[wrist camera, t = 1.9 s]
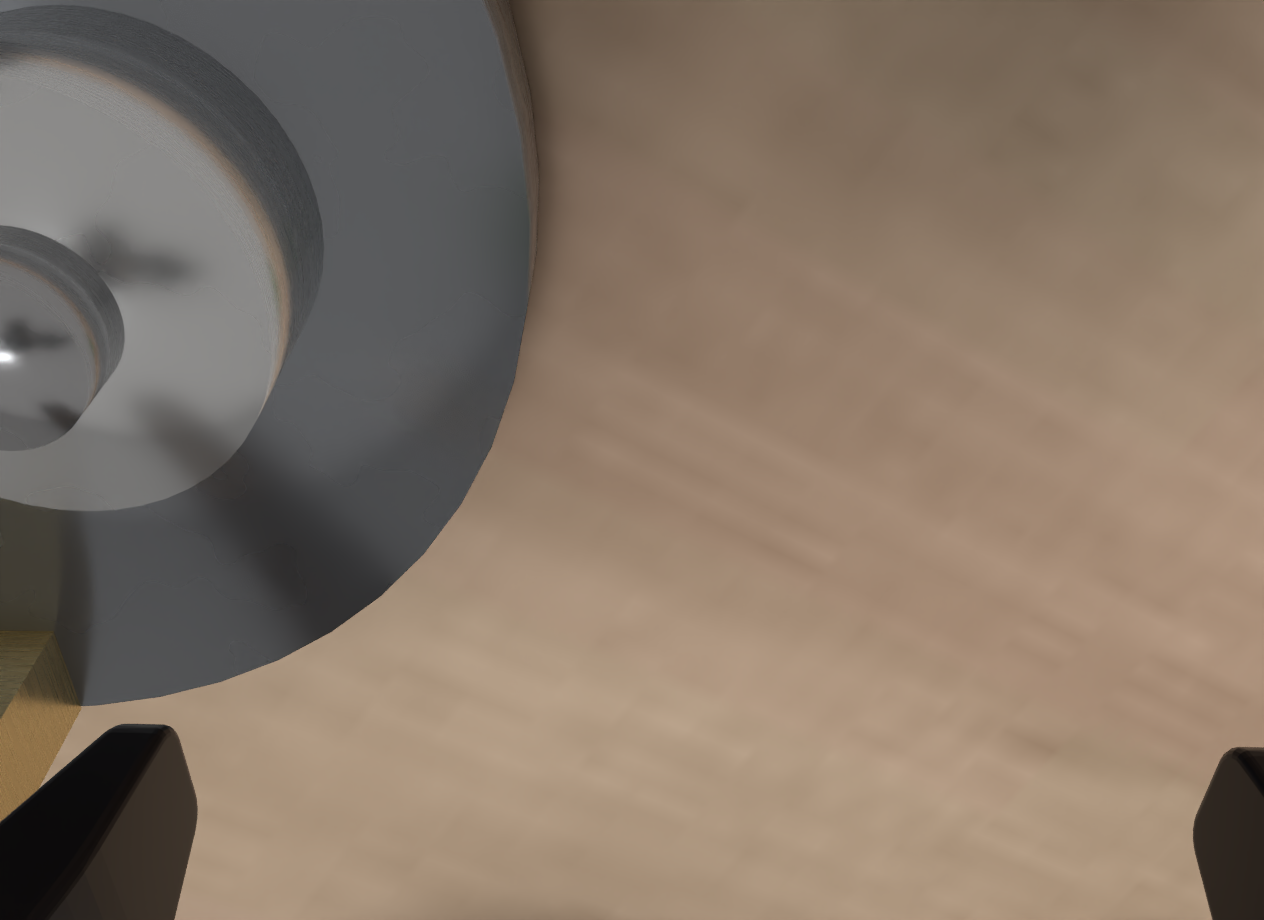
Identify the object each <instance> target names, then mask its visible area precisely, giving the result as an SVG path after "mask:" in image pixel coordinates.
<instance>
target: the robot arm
mask: <svg viewBox="0 0 1264 920" xmlns="http://www.w3.org/2000/svg"><path fill="white" fill-rule="evenodd" d="M197 810H198V808H197V798H196V794H195V790H194V787H193V784H192V780H191V777H190V773H189V770H188V766H187V763H186V760H185V756H184V753H183V749H182V746H181V743H180V739H179V737H178V735H177V733H176V732H175V731H174V729H173V728H171V727H170V726H166V725H155V724H121V725H117V726H115V727H113V728H111V729H109V730H108V731H106V732H105V733H104V734H102V735H101V736H100V737H99V738H98V739H97V740H95V741H94V742H93V743H92V744H91V745H90V746H88V747H87V748H86V749H85V750H84V751H83V752H81V753H80V754H79V755H78V756H77V757H76V758H74V759H73V760H72V761H71V762H70V763H69V764H67V765H66V766H65V767H64V768H63V769H62V770H60V771H59V772H58V773H57V774H56V775H55V776H53V777H52V778H51V779H50V780H49V781H47V782H46V783H45V784H44V785H43V786H42V787H40V788H39V789H38V790H37V791H36V792H35V793H33V794H32V795H31V796H30V797H29V798H28V799H26V800H25V801H24V802H23V803H22V804H21V805H19V806H18V807H17V808H16V809H15V810H14V811H12V812H11V813H10V814H9V815H8V816H7V817H5V818H4V819H3V820H2V821H1V822H0V920H174V919H175V915H176V910H177V906H178V902H179V898H180V894H181V889H182V885H183V881H184V877H185V873H186V868H187V864H188V860H189V856H190V852H191V847H192V843H193V839H194V835H195V830H196V824H197ZM1193 842H1194V849H1195V854H1196V858H1197V862H1198V866H1199V870H1200V874H1201V877H1202V881H1203V885H1204V889H1205V893H1206V897H1207V900H1208V904H1209V908H1210V912H1211V916H1212V920H1264V748H1259V747H1236V748H1232V749H1230V750H1229V751H1228V752H1226V753H1225V754H1224V755H1223V756H1222V758H1221V760H1220V762H1219V764H1218V766H1217V769H1216V771H1215V773H1214V775H1213V778H1212V780H1211V782H1210V785H1209V787H1208V789H1207V791H1206V794H1205V796H1204V798H1203V801H1202V803H1201V805H1200V807H1199V810H1198V812H1197V814H1196V817H1195V821H1194V827H1193Z"/></svg>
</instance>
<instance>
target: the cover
mask: <svg viewBox="0 0 1264 920" xmlns="http://www.w3.org/2000/svg"><path fill="white" fill-rule="evenodd" d="M323 258H324V241H323V228H322V221H321V216H320V211H319V207H318V202H317V198H316V195H315V192H314V189H313V186H312V184H311V181H310V178H309V175H308V172H307V170H306V168H305V166H304V164H303V162H302V160H301V158H300V156H299V154H298V152H297V150H296V148H295V146H294V145H293V143H292V142H291V140H290V139H289V137H288V135H287V134H286V132H285V131H284V129H283V128H282V126H281V125H280V123H279V122H278V120H277V119H276V118H275V117H274V116H273V114H272V113H271V112H270V111H269V109H268V108H267V107H266V106H265V105H264V103H263V102H262V101H261V100H260V99H259V97H258V96H257V95H256V94H255V93H254V92H253V91H251V90H250V89H249V88H248V87H247V86H246V85H245V84H244V83H243V82H242V81H241V80H240V79H239V78H238V77H237V76H236V75H235V74H234V73H232V72H231V71H230V70H228V69H227V68H226V67H225V66H223V65H222V64H221V63H219V62H218V61H217V60H216V59H214V58H213V57H212V56H210V55H209V54H207V53H206V52H204V51H203V50H201V49H199V48H198V47H196V46H194V45H193V44H191V43H190V42H188V41H186V40H185V39H183V38H181V37H179V36H177V35H175V34H173V33H171V32H169V31H167V30H164V29H162V28H160V27H158V26H156V25H154V24H152V23H149V22H146V21H143V20H140V19H137V18H134V17H131V16H128V15H125V14H122V13H118V12H113V11H108V10H103V9H99V8H94V7H87V6H74V5H61V4H58V5H41V6H28V7H24V8H19V9H14V10H9V11H4V12H1V13H0V498H4V499H8V500H12V501H16V502H19V503H23V504H27V505H33V506H39V507H45V508H51V509H58V510H74V511H104V510H118V509H124V508H131V507H137V506H142V505H146V504H149V503H153V502H156V501H160V500H163V499H167V498H169V497H171V496H173V495H176V494H178V493H180V492H183V491H185V490H187V489H189V488H191V487H193V486H194V485H196V484H198V483H199V482H201V481H202V480H204V479H206V478H207V477H209V476H210V475H212V474H213V473H214V472H215V471H216V470H217V469H219V468H220V467H221V466H222V465H223V464H225V463H226V462H227V461H228V460H229V459H230V458H231V457H232V455H233V454H234V453H235V452H236V451H237V449H238V448H239V447H240V446H241V445H242V444H243V442H244V441H245V439H246V437H247V436H248V434H249V432H250V431H251V429H252V427H253V426H254V424H255V422H256V421H257V419H258V417H259V415H260V413H261V411H262V409H263V407H264V405H265V403H266V401H267V399H268V397H269V395H270V393H271V391H272V389H273V387H274V385H275V383H276V381H277V379H278V377H279V375H280V373H281V371H282V369H283V367H284V365H285V363H286V361H287V359H288V357H289V355H290V353H291V351H292V349H293V347H294V345H295V344H296V342H297V340H298V338H299V336H300V334H301V332H302V330H303V328H304V326H305V324H306V322H307V320H308V318H309V316H310V313H311V311H312V308H313V306H314V303H315V300H316V298H317V295H318V291H319V286H320V282H321V277H322V272H323Z"/></svg>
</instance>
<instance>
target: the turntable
mask: <svg viewBox="0 0 1264 920" xmlns="http://www.w3.org/2000/svg"><path fill="white" fill-rule="evenodd" d="M58 4H61V5H74V6H87V7H94V8H99V9H103V10H108V11H113V12H118V13H122V14H125V15H128V16H131V17H134V18H137V19H140V20H143V21H146V22H149V23H152V24H154V25H156V26H158V27H160V28H162V29H164V30H167V31H169V32H171V33H173V34H175V35H177V36H179V37H181V38H183V39H185V40H186V41H188V42H190V43H191V44H193V45H194V46H196V47H198V48H199V49H201V50H203V51H204V52H206V53H207V54H209V55H210V56H212V57H213V58H214V59H216V60H217V61H218V62H219V63H221V64H222V65H223V66H225V67H226V68H227V69H228V70H230V71H231V72H232V73H234V74H235V75H236V76H237V77H238V78H239V79H240V80H241V81H242V82H243V83H244V84H245V85H246V86H247V87H248V88H249V89H250V90H251V91H253V92H254V93H255V94H256V95H257V96H258V97H259V99H260V100H261V101H262V102H263V103H264V105H265V106H266V107H267V108H268V109H269V111H270V112H271V113H272V114H273V116H274V117H275V118H276V119H277V120H278V122H279V123H280V125H281V126H282V128H283V129H284V131H285V132H286V134H287V135H288V137H289V139H290V140H291V142H292V143H293V145H294V146H295V148H296V150H297V152H298V154H299V156H300V158H301V160H302V162H303V164H304V166H305V168H306V170H307V172H308V175H309V178H310V181H311V184H312V186H313V189H314V192H315V195H316V198H317V202H318V207H319V211H320V216H321V221H322V228H323V241H324V258H323V272H322V277H321V282H320V286H319V291H318V295H317V298H316V300H315V303H314V306H313V308H312V311H311V313H310V316H309V318H308V320H307V322H306V324H305V326H304V328H303V330H302V332H301V334H300V336H299V338H298V340H297V342H296V344H295V345H294V347H293V349H292V351H291V353H290V355H289V357H288V359H287V361H286V363H285V365H284V367H283V369H282V371H281V373H280V375H279V377H278V379H277V381H276V383H275V385H274V387H273V389H272V391H271V393H270V395H269V397H268V399H267V401H266V403H265V405H264V407H263V409H262V411H261V413H260V415H259V417H258V419H257V421H256V422H255V424H254V426H253V427H252V429H251V431H250V432H249V434H248V436H247V437H246V439H245V441H244V442H243V444H242V445H241V446H240V447H239V448H238V449H237V451H236V452H235V453H234V454H233V455H232V457H231V458H230V459H229V460H228V461H227V462H226V463H225V464H223V465H222V466H221V467H220V468H219V469H217V470H216V471H215V472H214V473H213V474H212V475H210V476H209V477H207V478H206V479H204V480H202V481H201V482H199V483H198V484H196V485H194V486H193V487H191V488H189V489H187V490H185V491H183V492H180V493H178V494H176V495H173V496H171V497H169V498H167V499H163V500H160V501H156V502H153V503H149V504H146V505H142V506H137V507H131V508H124V509H118V510H104V511H74V510H58V509H51V508H45V507H39V506H33V505H27V504H23V503H19V502H16V501H12V500H8V499H4V498H0V822H1V821H2V820H3V819H4V818H5V817H7V816H8V815H9V814H10V813H11V812H12V811H14V810H15V809H16V808H17V807H18V806H19V805H21V804H22V803H23V802H24V801H25V800H26V799H28V798H29V797H30V796H31V795H32V794H33V793H35V792H36V791H37V790H38V789H39V787H40V785H41V783H42V781H43V780H44V778H45V776H46V774H47V772H48V770H49V768H50V766H51V765H52V763H53V761H54V759H55V757H56V755H57V753H58V751H59V750H60V748H61V746H62V744H63V742H64V740H65V738H66V736H67V735H68V733H69V731H70V729H71V727H72V725H73V723H74V721H75V720H76V718H77V716H78V714H79V712H80V710H81V706H95V705H103V704H111V703H118V702H125V701H133V700H140V699H147V698H155V697H161V696H165V695H169V694H173V693H177V692H181V691H185V690H189V689H193V688H197V687H201V686H206V685H210V684H214V683H218V682H221V681H224V680H227V679H229V678H232V677H235V676H237V675H240V674H243V673H245V672H248V671H251V670H253V669H256V668H258V667H261V666H264V665H266V664H269V663H272V662H274V661H277V660H279V659H281V658H283V657H285V656H287V655H289V654H291V653H292V652H294V651H296V650H298V649H300V648H302V647H304V646H306V645H307V644H309V643H311V642H313V641H315V640H317V639H319V638H321V637H322V636H324V635H326V634H328V633H330V632H332V631H333V630H335V629H336V628H337V627H339V626H340V625H341V624H343V623H344V622H346V621H347V620H348V619H350V618H351V617H352V616H354V615H355V614H357V613H358V612H359V611H361V610H362V609H364V608H365V607H366V606H368V605H369V604H370V603H372V602H373V601H375V600H376V599H377V598H379V597H380V596H381V595H382V594H383V593H384V592H385V591H386V590H387V589H388V588H389V587H390V586H391V585H392V584H393V583H394V582H395V581H397V580H398V579H399V578H400V577H401V576H402V575H403V574H404V573H405V572H406V571H407V570H408V569H409V568H410V567H411V566H412V565H413V564H414V563H415V562H416V561H417V560H418V559H419V558H420V557H421V556H422V555H423V554H424V553H425V552H426V550H427V549H428V548H429V546H430V545H431V544H432V542H433V541H434V540H435V538H436V537H437V536H438V534H439V533H440V532H441V530H442V529H443V528H444V526H445V525H446V524H447V522H448V521H449V520H450V518H451V517H452V516H453V514H454V513H455V512H456V510H457V509H458V508H459V506H460V505H461V503H462V501H463V500H464V498H465V496H466V494H467V492H468V490H469V488H470V486H471V484H472V483H473V481H474V479H475V477H476V475H477V473H478V471H479V469H480V467H481V466H482V464H483V462H484V460H485V458H486V456H487V454H488V452H489V450H490V449H491V447H492V444H493V441H494V438H495V435H496V432H497V429H498V426H499V423H500V421H501V418H502V415H503V412H504V409H505V406H506V403H507V400H508V397H509V394H510V391H511V388H512V385H513V382H514V378H515V373H516V367H517V362H518V356H519V350H520V345H521V339H522V334H523V328H524V322H525V317H526V311H527V305H528V300H529V294H530V288H531V282H532V277H533V271H534V265H535V259H536V254H537V228H538V199H539V169H538V159H537V150H536V140H535V130H534V120H533V110H532V101H531V93H530V88H529V84H528V80H527V76H526V71H525V67H524V63H523V59H522V54H521V50H520V46H519V42H518V37H517V33H516V29H515V25H514V20H513V16H512V12H511V8H510V4H509V2H508V0H0V13H1V12H4V11H9V10H14V9H19V8H24V7H28V6H41V5H58Z"/></svg>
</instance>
